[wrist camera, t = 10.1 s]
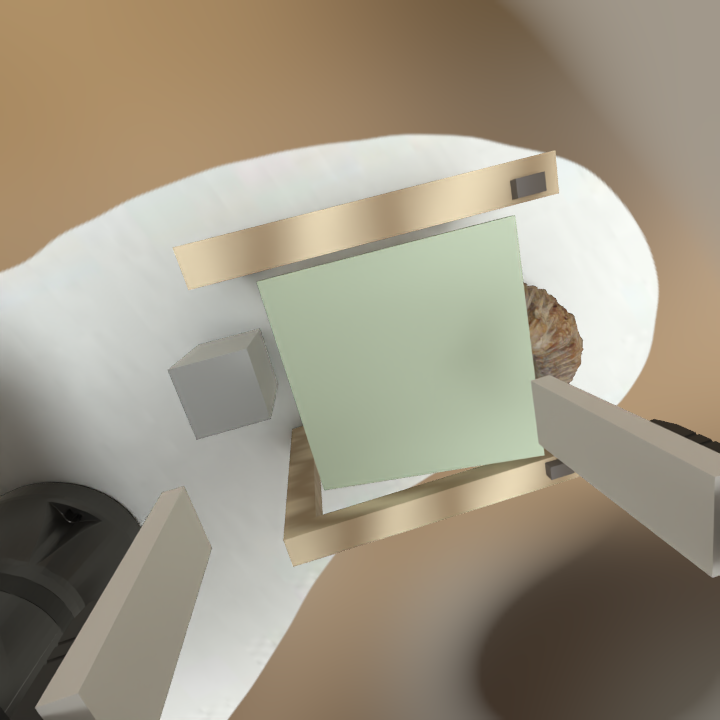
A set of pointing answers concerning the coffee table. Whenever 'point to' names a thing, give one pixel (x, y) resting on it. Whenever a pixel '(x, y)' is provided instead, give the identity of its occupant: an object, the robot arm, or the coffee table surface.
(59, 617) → the robot arm
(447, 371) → the trapdoor
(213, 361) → the grey rectangular block
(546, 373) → the seashell
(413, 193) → the frame
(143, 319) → the coffee table surface
